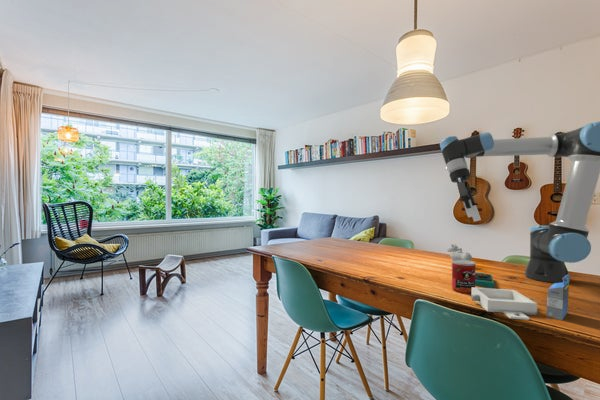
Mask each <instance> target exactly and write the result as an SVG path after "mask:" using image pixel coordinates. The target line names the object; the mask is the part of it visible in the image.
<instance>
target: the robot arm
mask: <svg viewBox="0 0 600 400" xmlns="http://www.w3.org/2000/svg"><path fill="white" fill-rule="evenodd" d="M439 146H440V150H441V151H440V152H441V154H442V156H443V160H444V163H445V165H446V167H445V170H446V171H447V172H448V173H449V178H450V181H451V182H452V183H456V184H457V185H456V186H457V189H458V193H459V196H460V199H459V201H460V202H462V204H463V206H464V209H465V213H466V215H467V218H468V219H469V218H472V220H473V222H475V223H476V222H478V221H482V219H481V215H480V213H479V210H478V207H477V206H478V205H479V204H478V203H477V202H476V201H475V198H474V196H473V194H472V189H471V186H470V183H469V182H468V181H467V180H469V179H470V178H471V177H472V175H471V172H470V170H469V166H468V164H467V161H466V159H472V158H478V157H505V156H506V157H507V156H508V157H510V156H540V155H541V156H543V155H545V156H546V155H547V156H548V157H550V158H551V157H552V158H553V157H554V158H555V157H559V158H560V157H562V158H568V159H569V160H570V161H571V164H570V168H569V171H568V174H567V175H568V176H567V180H566V183H565V186H564V190H563V194H562V198H561V200H560V204H559V205H560V206H559V208H558V212H557V215H556V219H555V220H554V221H553V222H552V221H551V222H550V223H549V225H533V226H532V227H531V228H530V232H529V234H530V235H529V236H530V237H529V243H530V244H529V246H530V247H529V261H528V263H527V265H526V268H525V269H524V276H525V277H527V278H528V279H531V280H536V281H539V282H545V283H552V284H554V283H562V282H563V279H562V278H564V277H565V276H566V275H568V274H569V283H570V282H571V276H570V273H569V271H568V269H567V266H566V263H567V264H568V263H569V264H571V263H572V264H574V263H579V262H581V261H583V260H585V259H587V258H588V257H589V255H590V254H591V252H592V243H591V242H590V240H589V239H588V237H589V233H590V230H589V229H588V228H587V227H586V223H587V219H588V217H589V213H590V209H591V206H592V202H593V198H594V195H595V192H596V188H597V184H598V180H599V178H600V121H596V122H589V123H588V124H586V125H584V126H581V127H579V128H575V129H573V130H571V131H568V132H563V133H557V134H555V133H553V134H552V133H551V134H550V135H549V136H544V137H543V136H541V137H523V138H522V137H520V138H519V137H518V138H500V139H498V138H497V139H494V137H493V135H492V134H491V133H490V132H483V133H479V134H477V135H476V134H475V135H472V136H470V137H466V138H461V139H459V138H458V137H457V136H455V135H451V136H447V137H445V138H443V139H442V140H441V141H440V143H439ZM566 282H567V279H566Z"/></svg>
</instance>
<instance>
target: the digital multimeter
mask: <svg viewBox="0 0 600 400" xmlns="http://www.w3.org/2000/svg"><path fill="white" fill-rule="evenodd" d="M495 285H496V284H495V281H494V278H493V275H492V274H490V273H486V272H475V287H480V288H492V289H496V286H495Z"/></svg>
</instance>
